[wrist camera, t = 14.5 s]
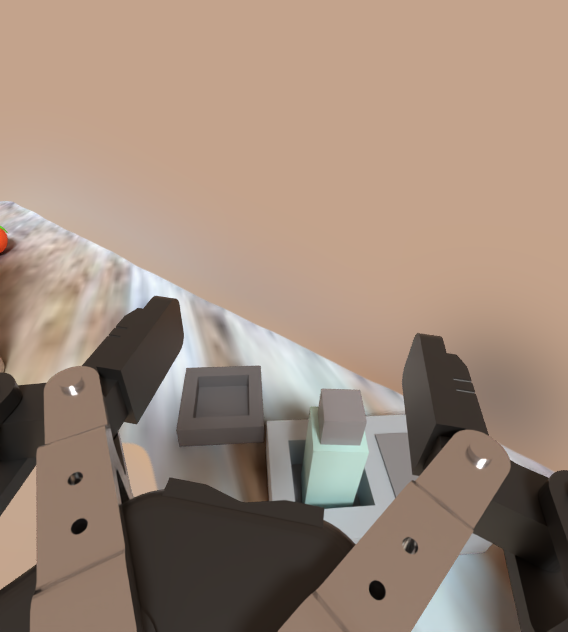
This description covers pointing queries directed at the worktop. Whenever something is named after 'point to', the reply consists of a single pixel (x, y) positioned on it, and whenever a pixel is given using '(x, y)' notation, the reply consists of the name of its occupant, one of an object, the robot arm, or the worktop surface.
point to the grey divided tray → (376, 481)
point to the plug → (334, 449)
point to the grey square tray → (221, 406)
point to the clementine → (3, 239)
